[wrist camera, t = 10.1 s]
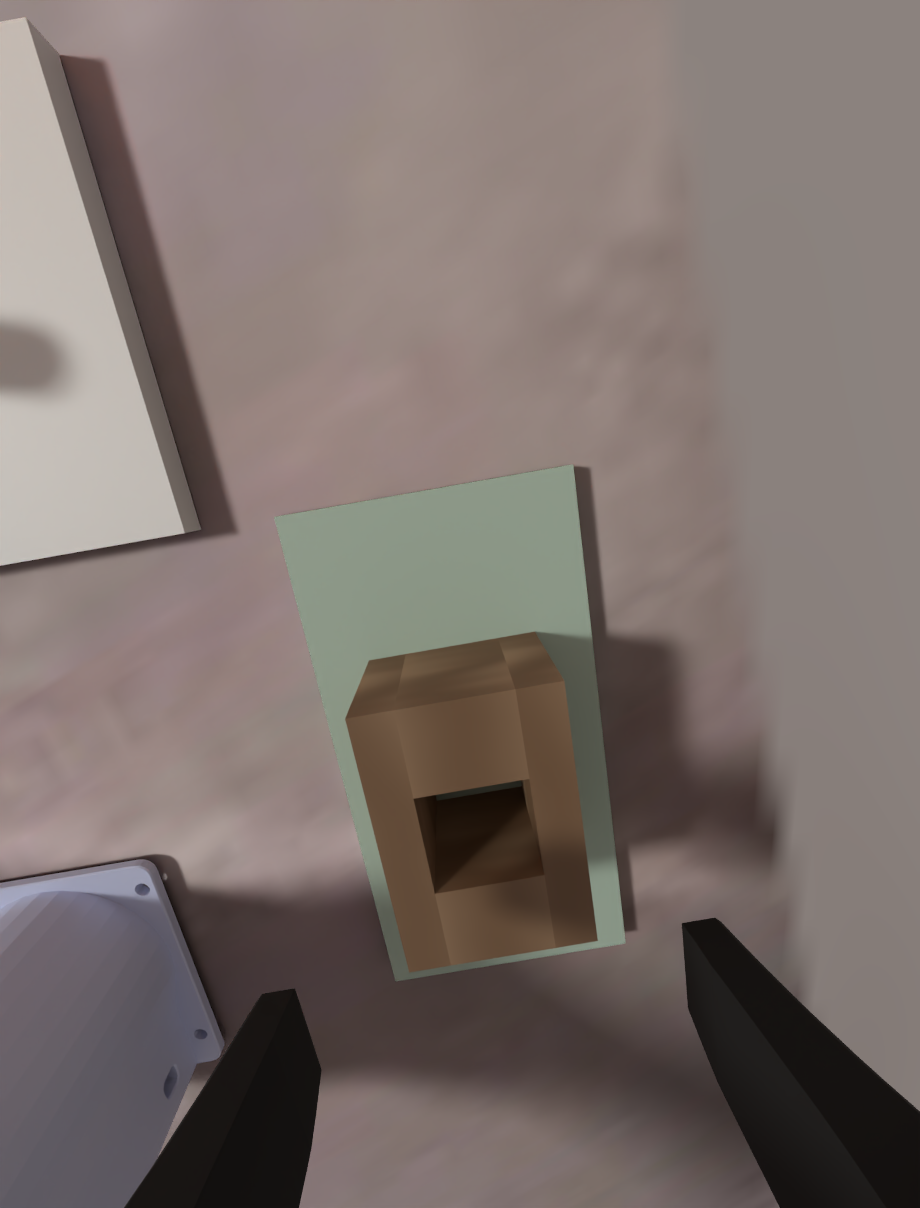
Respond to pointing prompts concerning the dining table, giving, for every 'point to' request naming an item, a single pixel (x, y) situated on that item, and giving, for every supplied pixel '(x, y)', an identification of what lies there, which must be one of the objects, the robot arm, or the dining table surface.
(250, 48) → the dining table surface
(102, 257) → the stand
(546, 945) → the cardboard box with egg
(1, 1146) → the robot arm
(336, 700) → the mat
